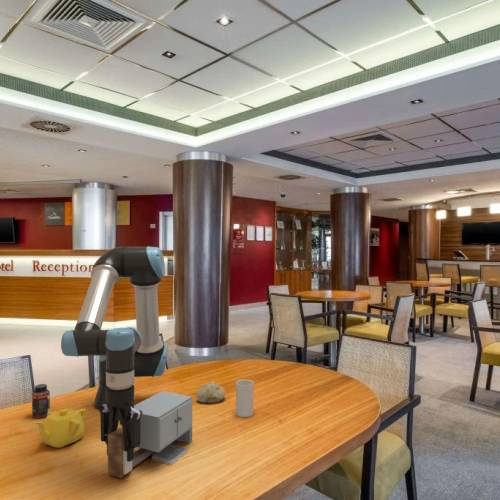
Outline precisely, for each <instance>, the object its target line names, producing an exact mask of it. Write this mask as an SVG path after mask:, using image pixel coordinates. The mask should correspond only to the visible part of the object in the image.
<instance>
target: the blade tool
mask: <svg viewBox="0 0 500 500" xmlns="http://www.w3.org/2000/svg"><path fill="white" fill-rule="evenodd" d="M125 448H126V447H125V442H124V436H123V430H122V427H118V428H117V430H115V431H113V432H111V433H109V434H108V456H107V462H108V463H107V474H108V475H110V476H113V477H116V478H120V479H122V478H123V477H124V476H126V475H127V474H129V473H130V472H128V473H127V474H123V450H124V449H125ZM155 453H156V452H155V451H151V450H147V449H143V448H138V449H137V450H134V459H133V460H132V469H133V468H134V467H135V466H137V465H138V464H140V463H142V461H144V460H145V459H147V458H148V457H150V456H152V455H153V454H155Z"/></svg>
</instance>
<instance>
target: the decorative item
mask: <svg viewBox="0 0 500 500" xmlns="http://www.w3.org/2000/svg"><path fill="white" fill-rule="evenodd" d="M225 395H226V389H225V388H224V387H223V386H220V384H218V383H217V382H216V381H209V382H207V383H205V384H203V385H202V386H201V387H199V389H198V390H197V393H196V398H197V401H198V402H200V403H203V404H204V403H209V404H215V403H219V402H221V401H223V400H224V398H225Z"/></svg>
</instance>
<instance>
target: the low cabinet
mask: <svg viewBox="0 0 500 500" xmlns="http://www.w3.org/2000/svg"><path fill="white" fill-rule="evenodd" d="M133 405H134V409H136V410H137V411H139V410H141V411H142V416H141V424H140V445H139V446H138V447H137V448H138V449H140V448H143V449H147V450H151V451H155V452H154V453H156V452H159V451H161V450H162V449H164V448H165V447H166V446H168V445H169V444H172V443H174V441H178V442H183V443H188V444H191V442H192V443H193V396H192V395H191V396H190V395H187V394H186V395H185V394H179V393H174V392H169V391H162V390H161V391H160V392H157V393H156V394H154V395H152V396H150V397H148V398H146V399H144V400H142V401H141V402H139V403H136V404H133ZM131 416H132V414H131Z"/></svg>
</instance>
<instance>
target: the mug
mask: <svg viewBox="0 0 500 500" xmlns="http://www.w3.org/2000/svg"><path fill="white" fill-rule="evenodd" d="M254 389H255V387H254V381H253V380H251V379H238V380H237V381H236V382H235V402H236V403H235V405H236V407H235V408H236V409H235V411H236V412H235V413H236V416H237V417H239V418H249V417H252V416H253V415H254V393H255V392H254Z"/></svg>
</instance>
